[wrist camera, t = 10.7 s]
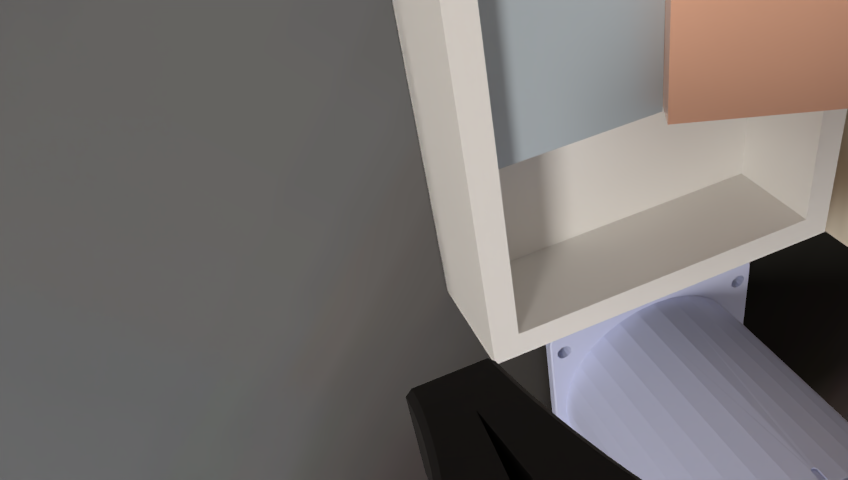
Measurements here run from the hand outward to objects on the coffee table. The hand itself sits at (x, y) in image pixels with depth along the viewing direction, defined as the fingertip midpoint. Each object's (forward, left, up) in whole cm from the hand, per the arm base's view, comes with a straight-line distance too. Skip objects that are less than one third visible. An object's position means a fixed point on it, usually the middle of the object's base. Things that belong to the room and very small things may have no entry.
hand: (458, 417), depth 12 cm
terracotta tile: (+1, -12, -8) cm, 14 cm away
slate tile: (+1, -6, -8) cm, 10 cm away
